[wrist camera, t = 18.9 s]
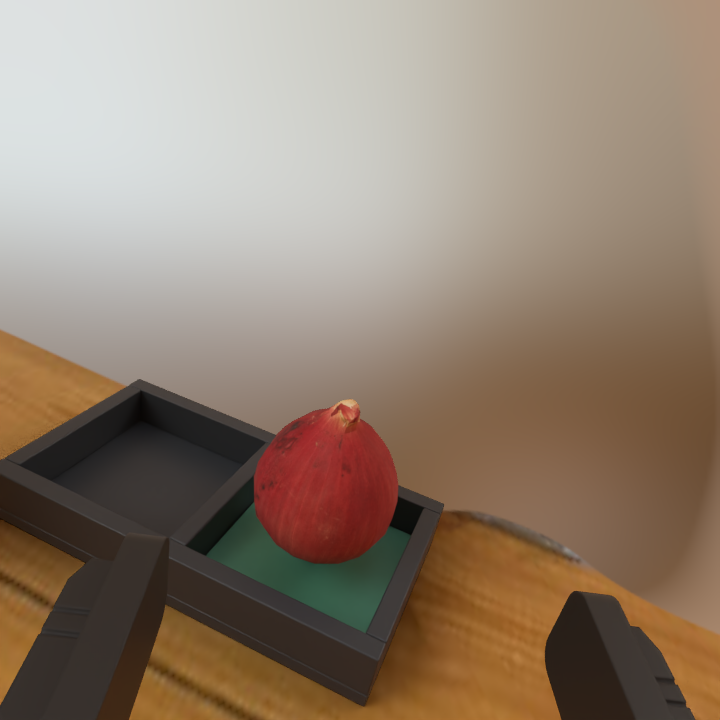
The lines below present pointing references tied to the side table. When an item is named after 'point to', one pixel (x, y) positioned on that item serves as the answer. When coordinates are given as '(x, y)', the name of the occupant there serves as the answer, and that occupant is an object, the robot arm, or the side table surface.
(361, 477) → the onion
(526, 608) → the side table surface
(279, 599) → the tray
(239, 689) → the side table surface
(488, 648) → the side table surface
